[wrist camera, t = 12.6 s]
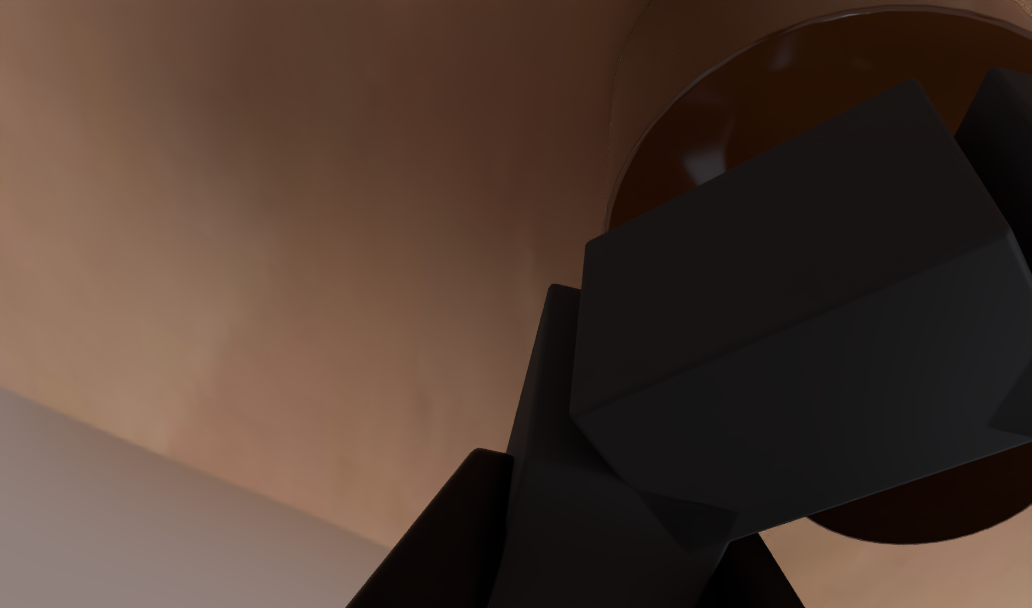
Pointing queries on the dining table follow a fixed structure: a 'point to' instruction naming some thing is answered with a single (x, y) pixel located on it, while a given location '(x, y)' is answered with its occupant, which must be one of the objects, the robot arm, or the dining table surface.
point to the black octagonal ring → (777, 350)
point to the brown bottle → (789, 112)
